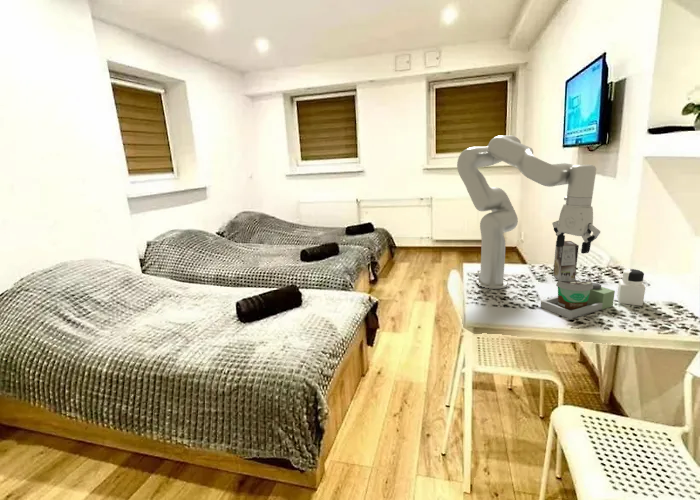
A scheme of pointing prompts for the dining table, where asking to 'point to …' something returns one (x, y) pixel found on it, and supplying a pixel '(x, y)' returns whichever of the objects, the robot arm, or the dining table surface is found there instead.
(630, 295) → the medicine bottle
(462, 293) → the dining table surface
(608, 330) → the dining table surface
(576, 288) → the food container
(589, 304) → the shallow rimmed tray
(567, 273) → the coffee box
